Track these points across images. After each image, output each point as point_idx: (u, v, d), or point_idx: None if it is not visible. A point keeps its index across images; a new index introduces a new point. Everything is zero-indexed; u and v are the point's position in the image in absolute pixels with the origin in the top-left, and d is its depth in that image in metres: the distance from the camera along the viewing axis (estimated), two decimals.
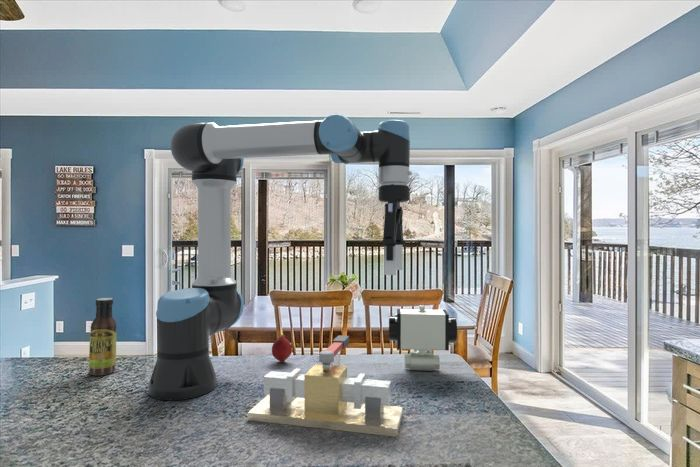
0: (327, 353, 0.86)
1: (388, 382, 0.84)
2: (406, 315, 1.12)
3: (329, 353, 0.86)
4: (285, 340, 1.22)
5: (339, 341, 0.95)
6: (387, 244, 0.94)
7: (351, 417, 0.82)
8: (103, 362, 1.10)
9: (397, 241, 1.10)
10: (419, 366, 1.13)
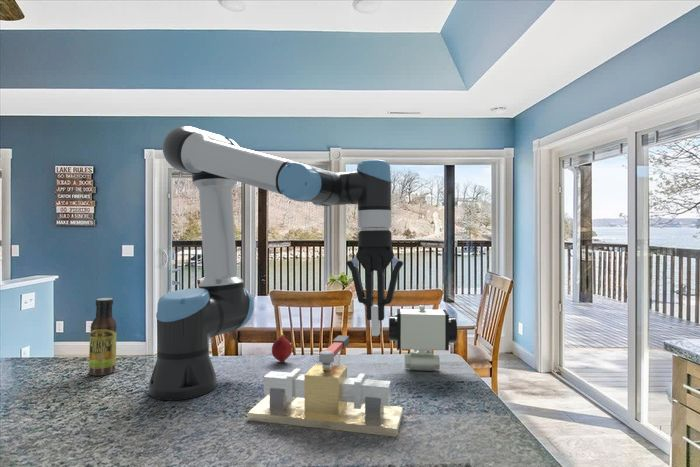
0: (327, 353, 0.86)
1: (388, 382, 0.84)
2: (406, 315, 1.12)
3: (329, 353, 0.86)
4: (285, 340, 1.22)
5: (339, 341, 0.95)
6: None
7: (351, 417, 0.82)
8: (103, 362, 1.10)
9: (372, 301, 0.95)
10: (419, 366, 1.13)
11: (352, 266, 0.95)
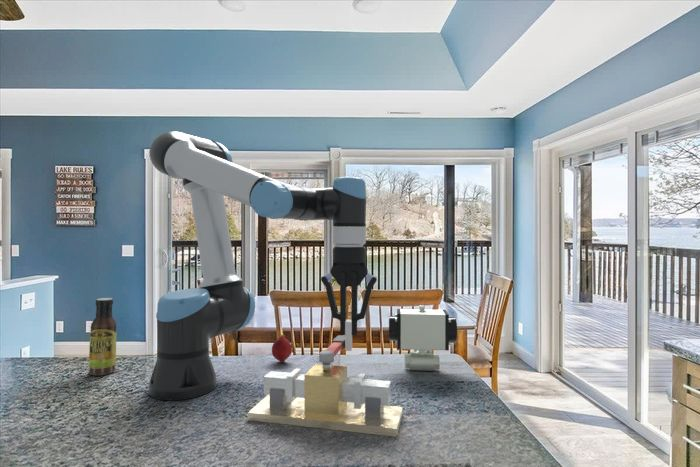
0: (327, 353, 0.86)
1: (388, 382, 0.84)
2: (406, 315, 1.12)
3: (329, 353, 0.86)
4: (285, 340, 1.22)
5: (339, 341, 0.95)
6: None
7: (351, 417, 0.82)
8: (103, 362, 1.10)
9: None
10: (419, 366, 1.13)
11: (326, 282, 0.95)
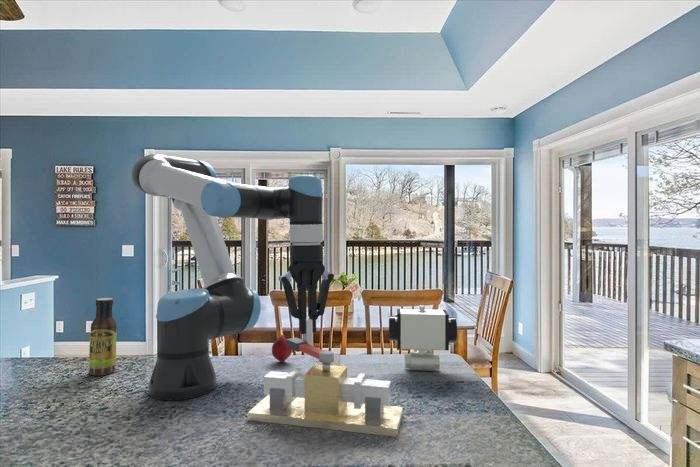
0: (328, 353, 0.86)
1: (388, 382, 0.84)
2: (406, 315, 1.12)
3: (329, 352, 0.86)
4: (285, 340, 1.22)
5: (303, 343, 0.94)
6: None
7: (351, 417, 0.82)
8: (103, 362, 1.10)
9: None
10: (419, 366, 1.13)
11: (287, 282, 0.92)
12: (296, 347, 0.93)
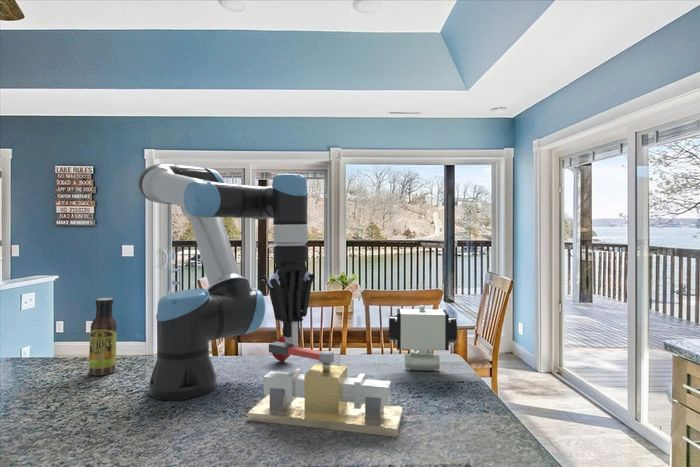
0: (328, 352, 0.86)
1: (388, 382, 0.84)
2: (406, 315, 1.12)
3: (328, 352, 0.87)
4: None
5: (290, 346, 0.91)
6: None
7: (351, 417, 0.82)
8: (103, 362, 1.10)
9: None
10: (419, 366, 1.13)
11: (277, 284, 0.89)
12: (284, 351, 0.90)
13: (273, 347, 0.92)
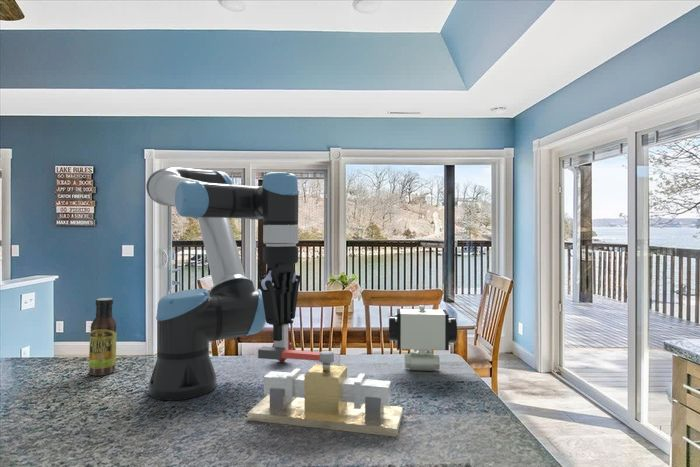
0: (328, 352, 0.86)
1: (388, 382, 0.84)
2: (406, 315, 1.12)
3: (327, 352, 0.87)
4: None
5: (283, 349, 0.88)
6: None
7: (351, 417, 0.82)
8: (103, 362, 1.10)
9: None
10: (419, 366, 1.13)
11: (271, 286, 0.86)
12: (278, 355, 0.87)
13: (264, 352, 0.88)
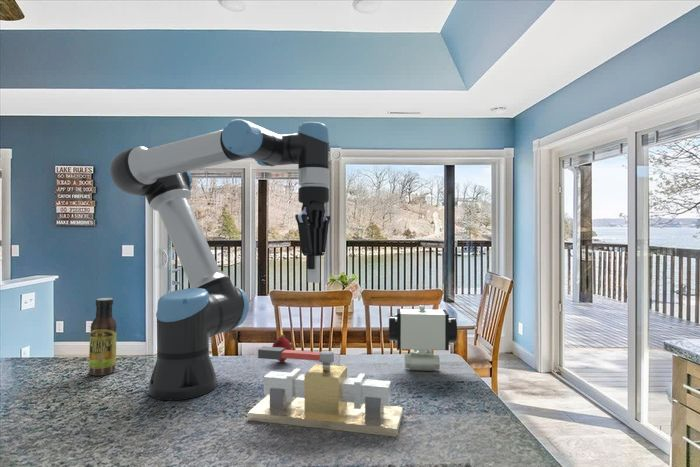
0: (328, 352, 0.86)
1: (388, 382, 0.84)
2: (406, 315, 1.12)
3: (327, 352, 0.87)
4: (285, 340, 1.22)
5: (283, 349, 0.88)
6: None
7: (351, 417, 0.82)
8: (103, 362, 1.10)
9: None
10: (419, 366, 1.13)
11: (307, 219, 0.99)
12: (278, 355, 0.87)
13: (264, 352, 0.88)
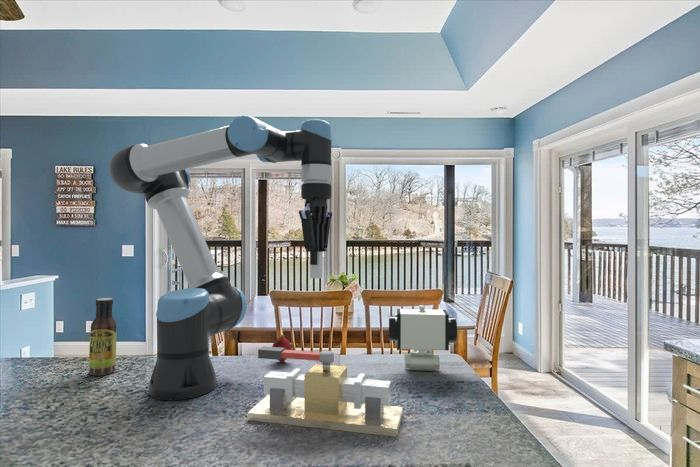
0: (328, 352, 0.86)
1: (388, 382, 0.84)
2: (406, 315, 1.12)
3: (327, 352, 0.87)
4: (285, 340, 1.22)
5: (283, 349, 0.88)
6: None
7: (351, 417, 0.82)
8: (103, 362, 1.10)
9: None
10: (419, 366, 1.13)
11: (310, 215, 1.00)
12: (278, 355, 0.87)
13: (264, 352, 0.88)
